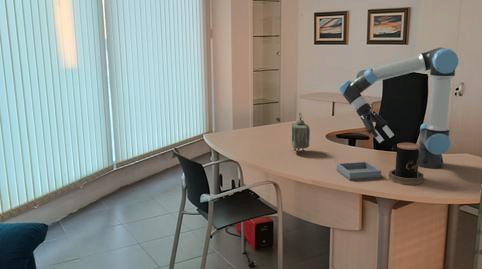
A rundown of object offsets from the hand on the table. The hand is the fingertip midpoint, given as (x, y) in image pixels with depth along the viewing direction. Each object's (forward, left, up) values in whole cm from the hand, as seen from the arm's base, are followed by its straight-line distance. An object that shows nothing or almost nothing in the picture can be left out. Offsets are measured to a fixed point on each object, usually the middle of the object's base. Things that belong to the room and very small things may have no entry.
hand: (387, 139), depth 245 cm
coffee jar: (-7, +8, -20) cm, 23 cm away
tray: (+13, -5, -20) cm, 24 cm away
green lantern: (+29, -53, -20) cm, 63 cm away
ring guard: (-7, +8, -20) cm, 22 cm away
